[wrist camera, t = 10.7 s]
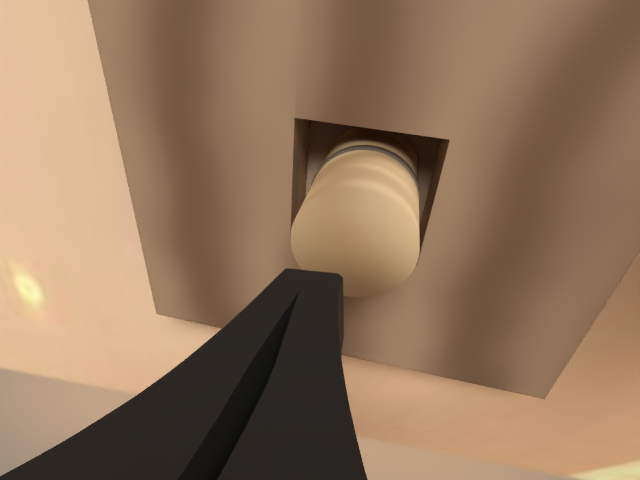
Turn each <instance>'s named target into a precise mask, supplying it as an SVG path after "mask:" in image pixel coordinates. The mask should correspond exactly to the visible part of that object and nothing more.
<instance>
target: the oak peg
mask: <svg viewBox="0 0 640 480" xmlns="http://www.w3.org/2000/svg"><path fill="white" fill-rule="evenodd" d="M419 208H420V188H419V181H418V161H417V157H416V154H415V152H414V150H413V148H412V146H411V145H410V144H409V142H408V141H407V140H406V139H405V138H404V137H403V136H402V135H400V134H399V133H397V132H392V131H385V130H378V129H371V128H364V127H355V128H353V129H350V130H348V131H347V132H345V133H343V134H342V135H341V136H339V137H338V138H337V139H336V140H335V142H334V143H333V144H332V146H331V148H330V149H329V151H328V153H327V155H326V157H325V159H324V161H323V163H322V165H321V166H320V167H319V169H318V171H317V173H316V174H315V176H314V179H313V181H312V184H311V188H310V190H309V192H308V194H307V196H306V198H305V200H304V202H303V204H302V206H301V208H300V210H299V212H298V214H297V216H296V218H295V220H294V222H293V225H292V229H291V239H290V241H291V248H292V252H293V255H294V257H295V260H296V262H297V263H298V265H299V267H300V268H301V269H302V270H310V271H320V272H330V273H338V274H339V275H341V276H342V277H343V295H344V296H349V297H371V296H376V295H381V294H383V293H386V292H389V291H391V290H393V289H395V288H396V287H398V286H399V285H401V284H402V283H403V282H404V281H405V280H406V279H407V278H408V277H409V276H410V275H411V273H412V272H413V270H414V268H415V266H416V264H417V261H418V257H419V250H420V237H419Z"/></svg>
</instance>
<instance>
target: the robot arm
mask: <svg viewBox="0 0 640 480" xmlns="http://www.w3.org/2000/svg"><path fill="white" fill-rule="evenodd" d="M343 338H344V302H343V277H342V276H341V275H339V274H338V273H330V272H320V271H310V270H300V269H290V268H286V269H285V270H283V271H282V272H281V273H280V274H279V275H278V276H277V277H276V278H275V279H274V280H273V281H272V282H271V283H270V284H269V285H268V286H267V287H266V288H265V289H264V290H263V291H262V292H261V293H260V294H259V295H258V296H257V297H256V298H254V299H253V300H252V301H251V302H250V303H249V304H248V305H247V306H246V307H245V308H244V309H243V310H242V311H241V312H240V313H239V314H237V315H236V316H235V317H234V318H233V319H232V320H231V321H230V322H229V323H228V324H227V325H226V326H224V327H223V328H222V329H221V330H220V331H219V332H218V333H217V334H215V335H214V336H213V337H212V338H211V339H209V340H208V341H207V342H206V343H205V344H203V345H202V346H201V347H200V348H199V349H197V350H196V351H195V352H194V353H193V354H191V355H190V356H189V357H188V358H187V359H185V360H184V361H183V362H181V363H180V364H179V365H178V366H176V367H175V368H174V369H172V370H171V371H170V372H168V373H167V374H166V375H164V376H163V377H162V378H160V379H159V380H158V381H156V382H155V383H153V384H152V385H151V386H149V387H148V388H146V389H145V390H144V391H142V392H141V393H139V394H138V395H137V396H135V397H134V398H132V399H131V400H129V401H127V402H126V403H124V404H123V405H121V406H120V407H118V408H117V409H115V410H114V411H112V412H110V413H109V414H107V415H106V416H104V417H103V418H101V419H100V420H98V421H96V422H95V423H93V424H91V425H90V426H88V427H87V428H85V429H83V430H82V431H80V432H79V433H77V434H75V435H74V436H72V437H70V438H69V439H67V440H65V441H63V442H62V443H60V444H58V445H56V446H55V447H53V448H51V449H49V450H48V451H46V452H44V453H42V454H41V455H39V456H37V457H35V458H33V459H32V460H30V461H28V462H26V463H24V464H23V465H20V466H19V467H17V468H15V469H13V470H11V471H10V472H8V473H6V474H4V475H2V476H0V480H367V477H366V473H365V470H364V466H363V462H362V458H361V454H360V450H359V446H358V442H357V438H356V434H355V430H354V425H353V421H352V416H351V412H350V407H349V402H348V397H347V391H346V386H345V380H344V374H343V367H342V360H341V354H342V346H343Z"/></svg>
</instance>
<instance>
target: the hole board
mask: <svg viewBox="0 0 640 480" xmlns="http://www.w3.org/2000/svg"><path fill="white" fill-rule="evenodd" d="M88 4H89V8H90V13H91V17H92V22H93V27H94V31H95V36H96V40H97V45H98V49H99V54H100V58H101V63H102V68H103V72H104V77H105V81H106V86H107V90H108V95H109V99H110V104H111V109H112V113H113V118H114V122H115V127H116V131H117V136H118V140H119V145H120V150H121V154H122V159H123V163H124V168H125V172H126V177H127V181H128V186H129V191H130V195H131V200H132V204H133V209H134V213H135V218H136V222H137V227H138V232H139V236H140V241H141V245H142V250H143V254H144V259H145V263H146V268H147V273H148V277H149V282H150V286H151V291H152V295H153V300H154V304H155V309H156V313H157V314H159V315H163V316H168V317H173V318H177V319H182V320H186V321H191V322H195V323H200V324H204V325H209V326H214V327H218V328H223V327H224V326H226V325H227V324H228V323H229V322H230V321H231V320H232V319H233V318H234V317H235V316H236V315H237V314H239V313H240V312H241V311H242V310H243V309H244V308H245V307H246V306H247V305H248V304H249V303H250V302H251V301H252V300H253V299H254V298H256V297H257V296H258V295H259V294H260V293H261V292H262V291H263V290H264V289H265V288H266V287H267V286H268V285H269V284H270V283H271V282H272V281H273V280H274V279H275V278H276V277H277V276H278V275H279V274H280V273H281V272H282V271H283V270H285V269H286V268H290V269H300V270H302V269H301V268H300V267H299V265H298V263H297V262H296V260H295V257H294V255H293V252H292V248H291V241H290V239H291V229H292V225H293V222H294V220H295V218H296V216H297V214H298V212H299V210H300V208H301V206H302V204H303V202H304V200H305V192H306V174H307V156H308V139H309V121H310V120H314V121H321V122H328V123H335V124H342V125H349V126H357V127H364V128H371V129H378V130H385V131H392V132H399V133H406V134H413V135H421V136H428V137H435V138H442V139H441V143H440V147H439V151H438V155H437V159H436V163H435V167H434V171H433V175H432V179H431V183H430V187H429V191H428V195H427V199H426V203H425V207H424V211H423V215H422V219H421V223H420V227H419V237H420V250H419V257H418V261H417V264H416V266H415V268H414V270H413V272H412V273H411V275H410V276H409V277H408V278H407V279H406V280H405V281H404V282H403V283H402V284H401V285H399V286H398V287H396V288H395V289H393V290H391V291H389V292H386V293H383V294H381V295H376V296H371V297H349V296H344V295H343V302H344V338H343V346H342V354H341V355H346V356H350V357H355V358H360V359H364V360H369V361H373V362H378V363H382V364H387V365H391V366H396V367H401V368H405V369H410V370H414V371H419V372H423V373H428V374H432V375H437V376H442V377H446V378H451V379H455V380H460V381H464V382H469V383H473V384H478V385H483V386H487V387H492V388H496V389H501V390H505V391H510V392H515V393H519V394H524V395H528V396H533V397H537V398H542V399H545V397H546V396H547V394H548V393H549V391H550V390H551V388H552V387H553V385H554V383H555V382H556V380H557V379H558V377H559V376H560V374H561V373H562V371H563V369H564V368H565V366H566V365H567V363H568V362H569V360H570V359H571V357H572V355H573V354H574V352H575V351H576V349H577V348H578V346H579V344H580V343H581V341H582V340H583V338H584V337H585V335H586V334H587V332H588V330H589V329H590V327H591V326H592V324H593V323H594V321H595V320H596V318H597V316H598V315H599V313H600V312H601V310H602V309H603V307H604V306H605V304H606V302H607V301H608V299H609V298H610V296H611V295H612V293H613V292H614V290H615V288H616V287H617V285H618V284H619V282H620V281H621V279H622V278H623V276H624V274H625V273H626V271H627V270H628V268H629V267H630V265H631V263H632V262H633V260H634V259H635V257H636V256H637V254H638V253H639V251H640V0H88Z"/></svg>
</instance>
